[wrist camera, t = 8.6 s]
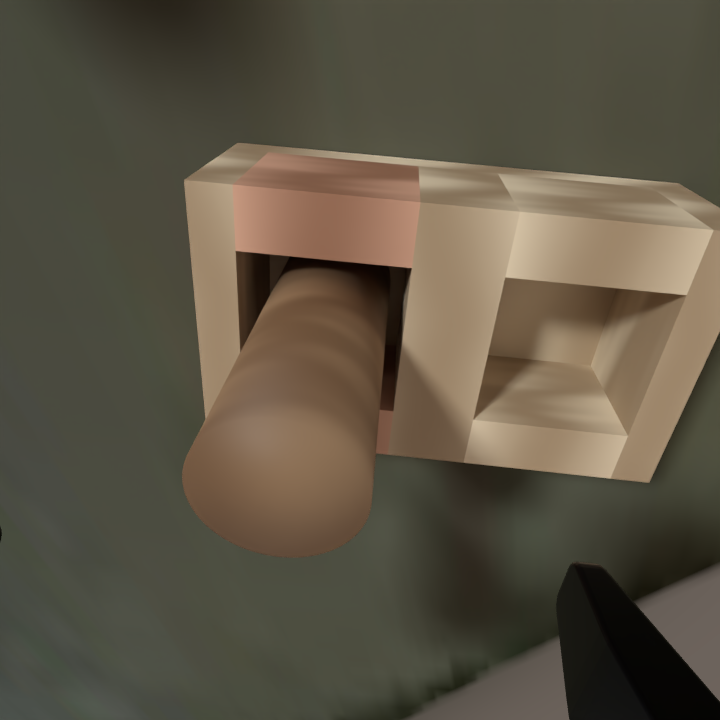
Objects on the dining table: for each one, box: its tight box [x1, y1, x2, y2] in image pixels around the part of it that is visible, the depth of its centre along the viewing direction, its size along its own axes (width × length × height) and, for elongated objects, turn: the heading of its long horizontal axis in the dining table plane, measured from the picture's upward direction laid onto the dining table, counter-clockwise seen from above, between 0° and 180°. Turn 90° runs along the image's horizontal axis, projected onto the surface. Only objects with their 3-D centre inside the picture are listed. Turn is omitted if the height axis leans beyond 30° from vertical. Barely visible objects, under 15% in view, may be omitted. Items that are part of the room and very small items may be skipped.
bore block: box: [184, 143, 720, 483], centre depth 18 cm, size 14×8×5 cm, turn 86°
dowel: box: [182, 256, 391, 557], centre depth 15 cm, size 4×4×10 cm
